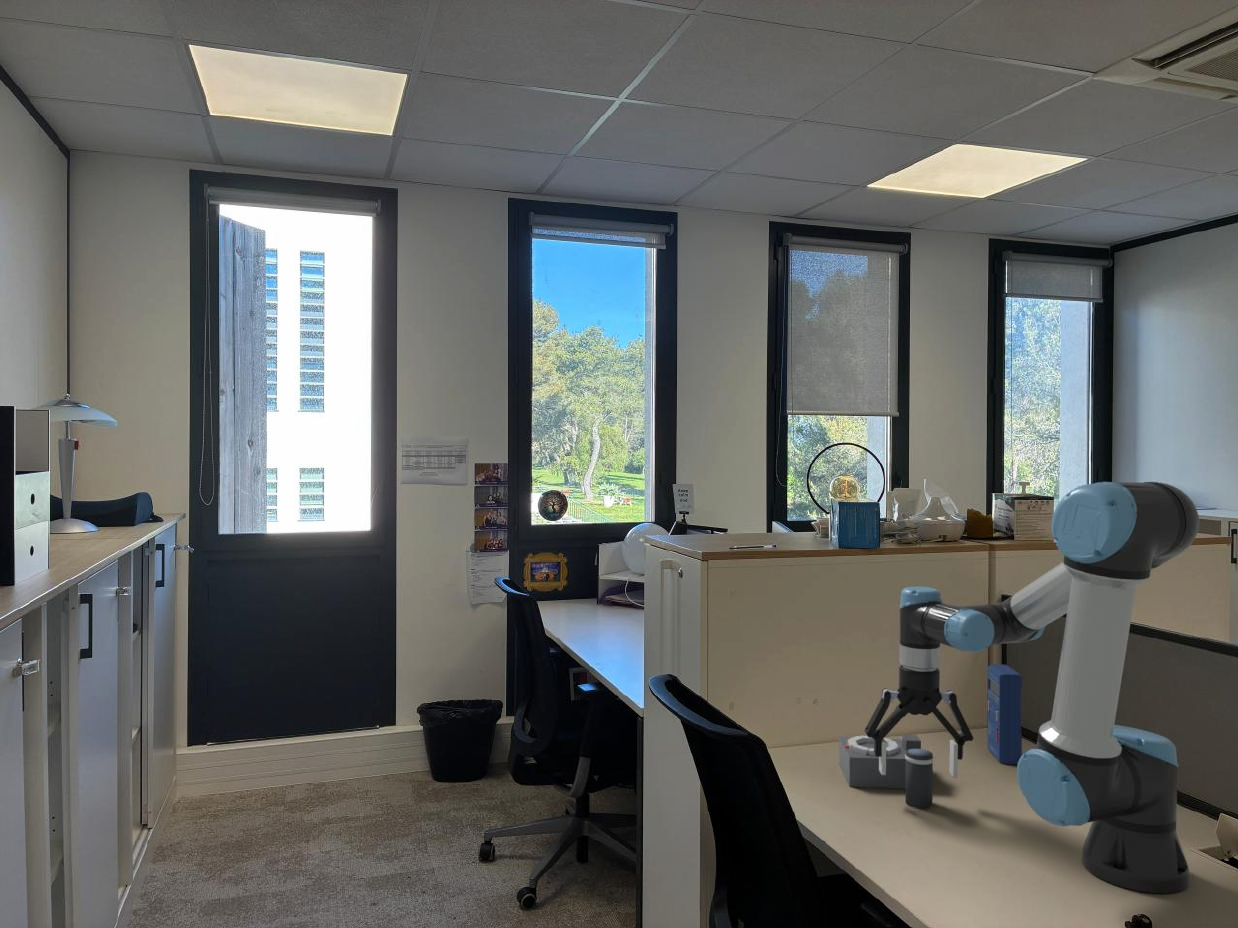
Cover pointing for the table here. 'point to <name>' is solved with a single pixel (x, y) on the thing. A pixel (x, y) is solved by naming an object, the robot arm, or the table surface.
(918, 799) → the lens
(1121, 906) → the table surface
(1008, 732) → the electronic device
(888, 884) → the table surface
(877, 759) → the camera body
